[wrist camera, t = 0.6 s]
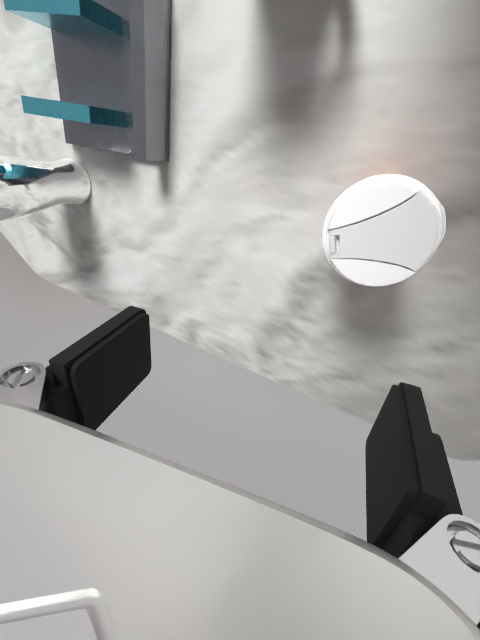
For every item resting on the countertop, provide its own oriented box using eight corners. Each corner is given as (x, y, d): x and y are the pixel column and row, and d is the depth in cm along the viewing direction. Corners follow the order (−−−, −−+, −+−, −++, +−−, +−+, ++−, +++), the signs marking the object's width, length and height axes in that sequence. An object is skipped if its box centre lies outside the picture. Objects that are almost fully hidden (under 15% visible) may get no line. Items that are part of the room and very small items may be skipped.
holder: (51, -21, 35) (-11, -57, 29) (171, -16, 32) (128, -54, 26) (71, 142, 43) (26, 141, 37) (168, 160, 40) (135, 161, 34)
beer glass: (73, 144, 43) (-46, 140, 30) (102, 193, 45) (2, 208, 32) (46, 170, 46) (-72, 176, 34) (74, 214, 48) (-27, 236, 35)
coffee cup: (336, 249, 38) (325, 296, 25) (331, 176, 35) (314, 188, 22) (415, 240, 35) (446, 288, 22) (417, 158, 31) (455, 161, 19)
